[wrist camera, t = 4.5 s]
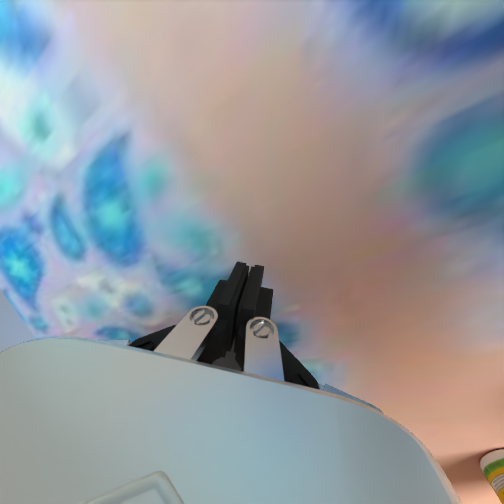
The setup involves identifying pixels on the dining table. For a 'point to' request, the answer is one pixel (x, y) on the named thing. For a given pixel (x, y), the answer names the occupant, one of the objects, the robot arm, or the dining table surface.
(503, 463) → the supplement bottle
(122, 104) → the dining table surface
